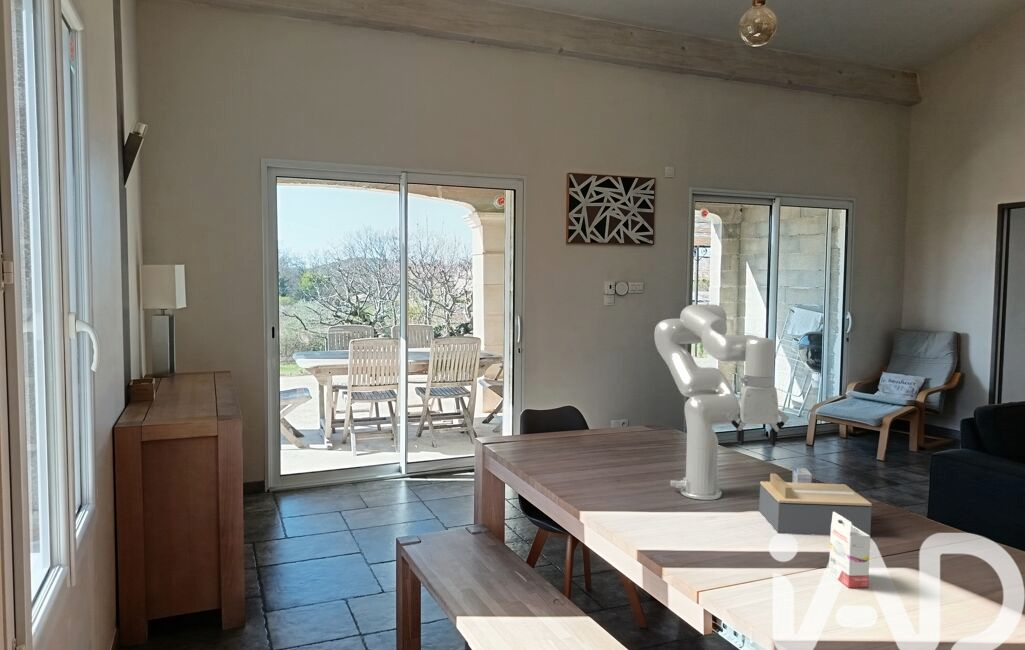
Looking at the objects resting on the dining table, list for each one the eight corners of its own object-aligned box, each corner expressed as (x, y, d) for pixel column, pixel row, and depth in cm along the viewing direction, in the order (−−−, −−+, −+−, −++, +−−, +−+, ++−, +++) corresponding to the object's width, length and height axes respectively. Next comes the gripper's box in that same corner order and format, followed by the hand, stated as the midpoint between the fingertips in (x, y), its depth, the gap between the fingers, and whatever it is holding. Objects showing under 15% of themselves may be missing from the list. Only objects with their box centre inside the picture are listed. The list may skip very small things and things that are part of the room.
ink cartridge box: (869, 588, 156) (872, 522, 155) (848, 588, 155) (851, 523, 155) (848, 572, 164) (850, 510, 163) (827, 572, 164) (830, 510, 163)
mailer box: (777, 533, 189) (778, 503, 189) (759, 511, 207) (760, 484, 207) (870, 536, 188) (871, 507, 187) (843, 514, 206) (844, 487, 205)
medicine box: (811, 502, 217) (812, 474, 216) (796, 501, 218) (797, 473, 217) (806, 494, 224) (807, 468, 224) (791, 493, 225) (792, 467, 225)
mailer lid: (778, 502, 189) (779, 489, 189) (760, 483, 207) (760, 471, 206) (871, 505, 187) (872, 492, 187) (844, 486, 205) (845, 474, 205)
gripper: (730, 383, 193) (728, 446, 194) (795, 384, 192) (792, 448, 193) (723, 379, 200) (721, 440, 201) (786, 381, 199) (784, 442, 200)
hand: (756, 444), depth 197 cm, fingers open, 8 cm apart
